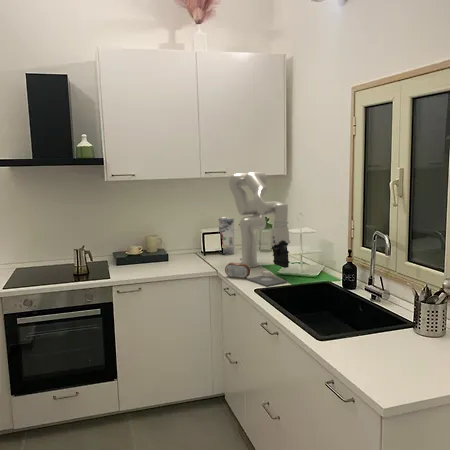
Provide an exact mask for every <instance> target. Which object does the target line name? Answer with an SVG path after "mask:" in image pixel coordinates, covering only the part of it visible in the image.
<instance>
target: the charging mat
mask: <svg viewBox="0 0 450 450" xmlns="http://www.w3.org/2000/svg"><path fill="white" fill-rule="evenodd" d="M246 278H247V279H246V280H247V281H249V282H252V283H255V284H256V285H257V284H258V285H260V286H263V287H265V288H268V287H273V286H278V285H283V284H287V283H288V280H285V279H282V278H280V277H275V276H273V275H272V271H270V270H264V271H262V275H258V276H253V277H246Z"/></svg>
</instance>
